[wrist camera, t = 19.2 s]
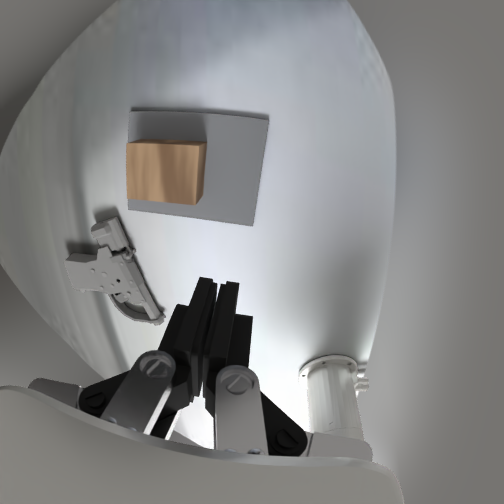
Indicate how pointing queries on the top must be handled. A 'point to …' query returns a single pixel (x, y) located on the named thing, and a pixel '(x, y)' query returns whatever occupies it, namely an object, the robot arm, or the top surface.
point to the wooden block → (166, 170)
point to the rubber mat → (210, 161)
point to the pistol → (113, 272)
